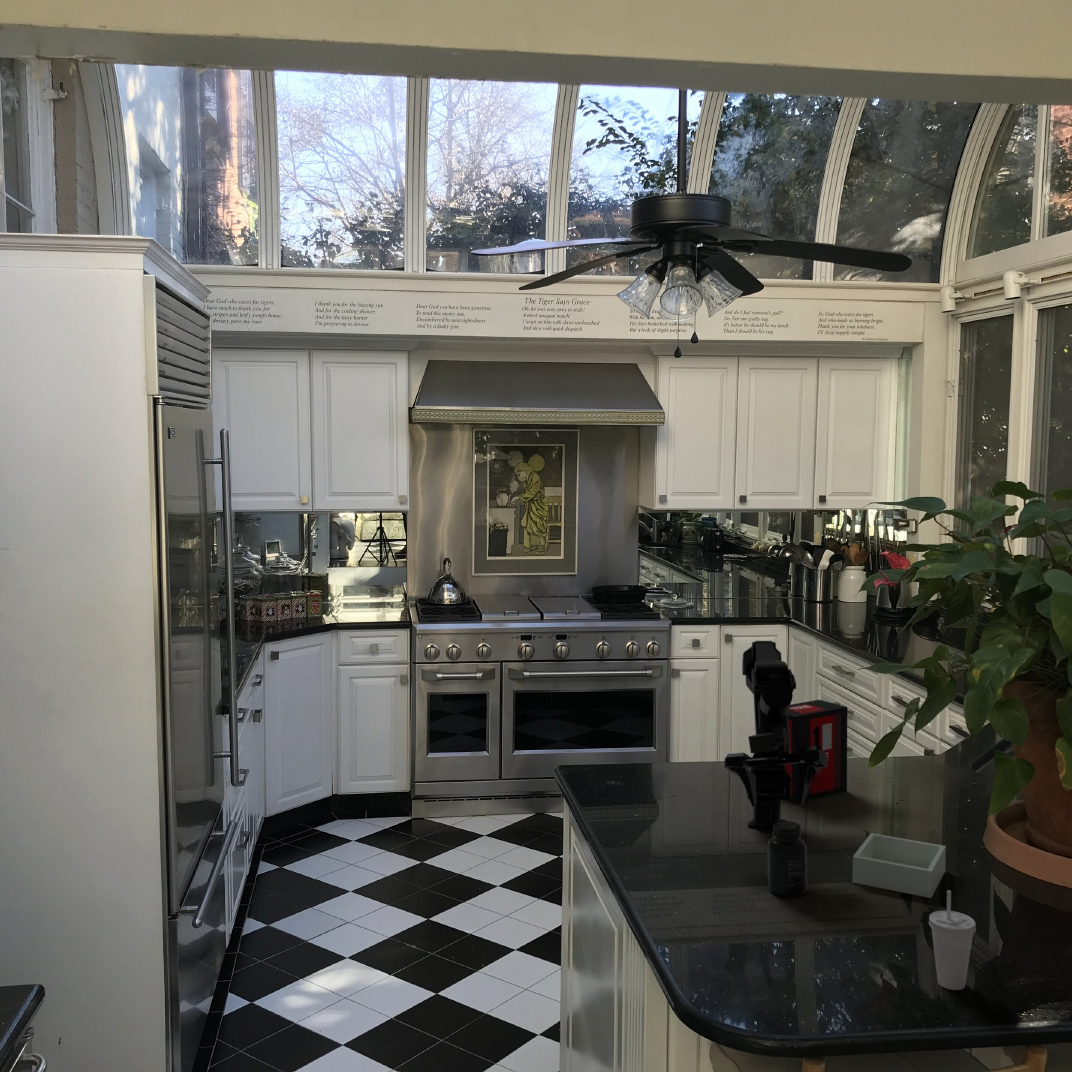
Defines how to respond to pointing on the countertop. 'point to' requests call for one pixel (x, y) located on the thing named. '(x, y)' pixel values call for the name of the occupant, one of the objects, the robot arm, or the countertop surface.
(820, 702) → the cleaning product box
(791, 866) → the supplement bottle
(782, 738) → the robot arm
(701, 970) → the countertop surface
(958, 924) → the smoothie
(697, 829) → the countertop surface
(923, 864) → the box
